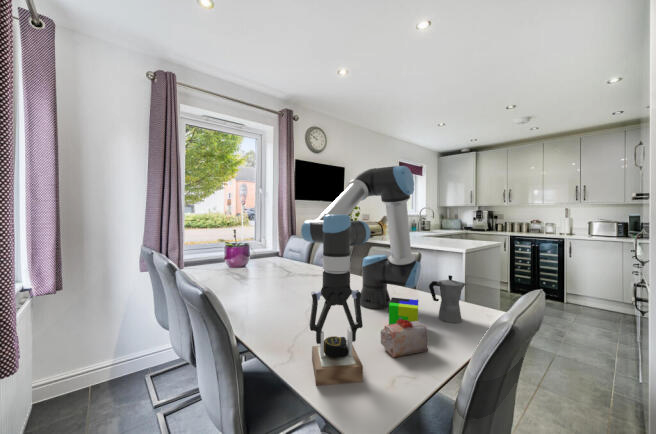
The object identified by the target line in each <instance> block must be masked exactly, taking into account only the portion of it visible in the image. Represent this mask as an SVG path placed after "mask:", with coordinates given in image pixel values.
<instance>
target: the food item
mask: <svg viewBox="0 0 656 434" xmlns="http://www.w3.org/2000/svg"><path fill="white" fill-rule="evenodd" d="M380 344H381V345H382V346H383V348H384V350H385V351H387V352H388V354H389V355H390V356H391V357H392V358H393V359H394V358H398V357H402V356H406V355H410V354H411V355H413V354H419V353H423V352H428V351H429V348H428V346H429V341H428V330H427V327H426V326H425V325H424V324H423V322H421V321H419V320H418V321H413V322H409V321H408V320H403V319H402V318H401V317H400V318H399V320H398V321H397V323H395V324H390V325H389V324H388V325H384V327H383V329H381V330H380Z"/></svg>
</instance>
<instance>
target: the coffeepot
mask: <svg viewBox="0 0 656 434" xmlns="http://www.w3.org/2000/svg"><path fill="white" fill-rule="evenodd" d="M466 285H467V283H465V282H462V281H457V280H453V275H450V274H449V275H448V279H443V280H441V279H440V280H433V281H431V282H430V283H429V285H428V288H429V291H430V294H431V296H432V297H431V298H432V300H433V302H439V300H440V299H441V301H440V306H439V311H438V319H439V320H440V321H442V322H444V323H450V324H459V323H461V322H463V320H462V314H461V313H462V312H461V307H460V301H461V296H462V290H463V289H464V287H465V286H466ZM434 287H439V293H440V294H439V295H440V299H439V298H437V297H436V293H435V288H434Z"/></svg>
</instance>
